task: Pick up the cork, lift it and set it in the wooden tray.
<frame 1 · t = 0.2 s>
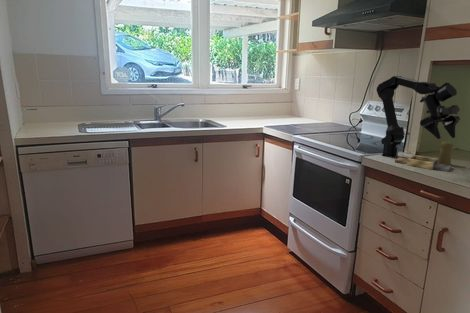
hand: (446, 138, 152), 15 cm above the table, tool tilted 35°, fingers open, 9 cm apart
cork: (443, 164, 169), on the table
wooden tray: (422, 165, 165), on the table
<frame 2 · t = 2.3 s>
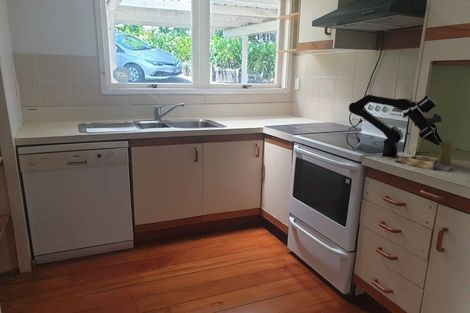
hand: (440, 143, 168), 10 cm above the table, tool tilted 45°, fingers open, 9 cm apart
nothing on the table moved.
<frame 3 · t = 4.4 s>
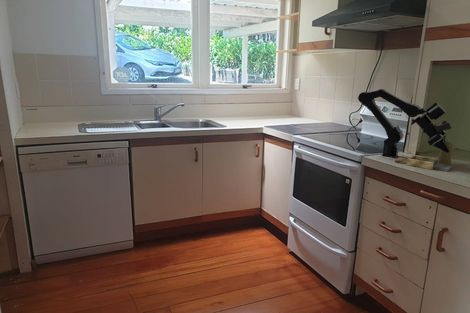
hand: (449, 151, 166), 7 cm above the table, tool tilted 45°, fingers closed on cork, 5 cm apart
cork: (443, 164, 169), on the table, touching gripper
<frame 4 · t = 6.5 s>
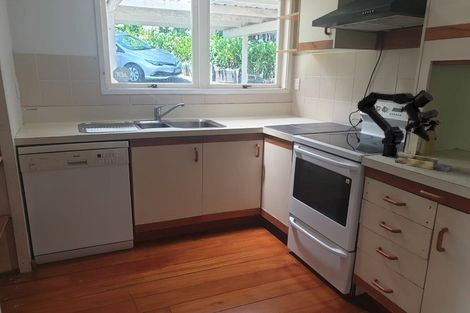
hand: (432, 140, 161), 12 cm above the table, tool tilted 45°, fingers closed on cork, 5 cm apart
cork: (427, 153, 164), point 6 cm above the table, touching gripper
when the fingers open (8 cm above the table, at t = 8.5 s): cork drops 1 cm, resting in wooden tray.
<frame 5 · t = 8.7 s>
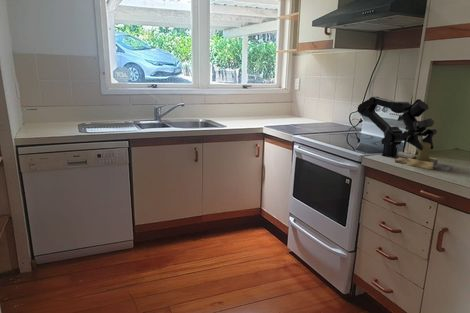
hand: (427, 149, 162), 8 cm above the table, tool tilted 45°, fingers open, 7 cm apart
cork: (422, 165, 165), resting in wooden tray
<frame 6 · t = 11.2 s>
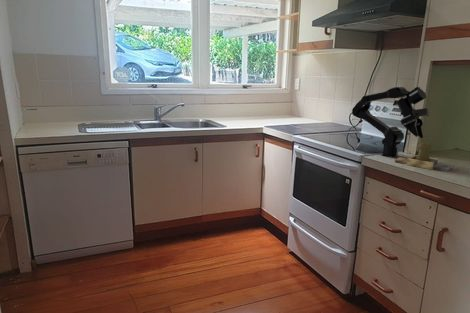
hand: (419, 137, 168), 13 cm above the table, tool tilted 35°, fingers open, 9 cm apart
nothing on the table moved.
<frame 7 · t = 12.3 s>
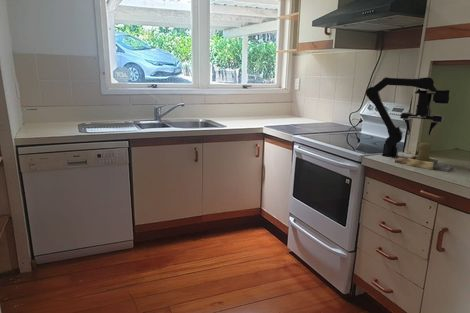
hand: (419, 133, 174), 13 cm above the table, tool pointing down, fingers open, 9 cm apart
nothing on the table moved.
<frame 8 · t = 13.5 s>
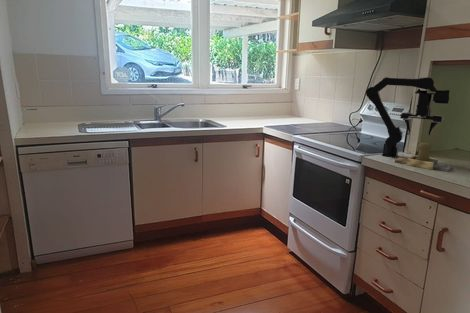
hand: (419, 134, 174), 13 cm above the table, tool pointing down, fingers open, 9 cm apart
nothing on the table moved.
at the end: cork 0.2 cm off-centre on the wooden tray, point 0.0 cm above the wooden tray's base; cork tilted 0°; the gripper is holding nothing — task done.
